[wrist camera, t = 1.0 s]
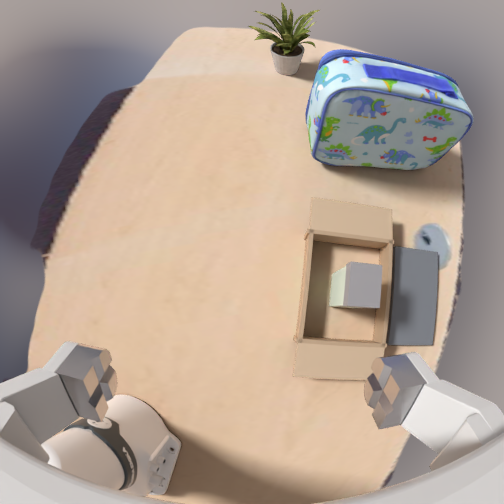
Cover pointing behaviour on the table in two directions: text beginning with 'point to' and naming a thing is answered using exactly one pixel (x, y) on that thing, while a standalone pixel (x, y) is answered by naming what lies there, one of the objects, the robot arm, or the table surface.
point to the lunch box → (383, 112)
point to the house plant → (286, 41)
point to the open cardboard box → (365, 352)
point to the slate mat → (413, 297)
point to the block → (356, 286)
